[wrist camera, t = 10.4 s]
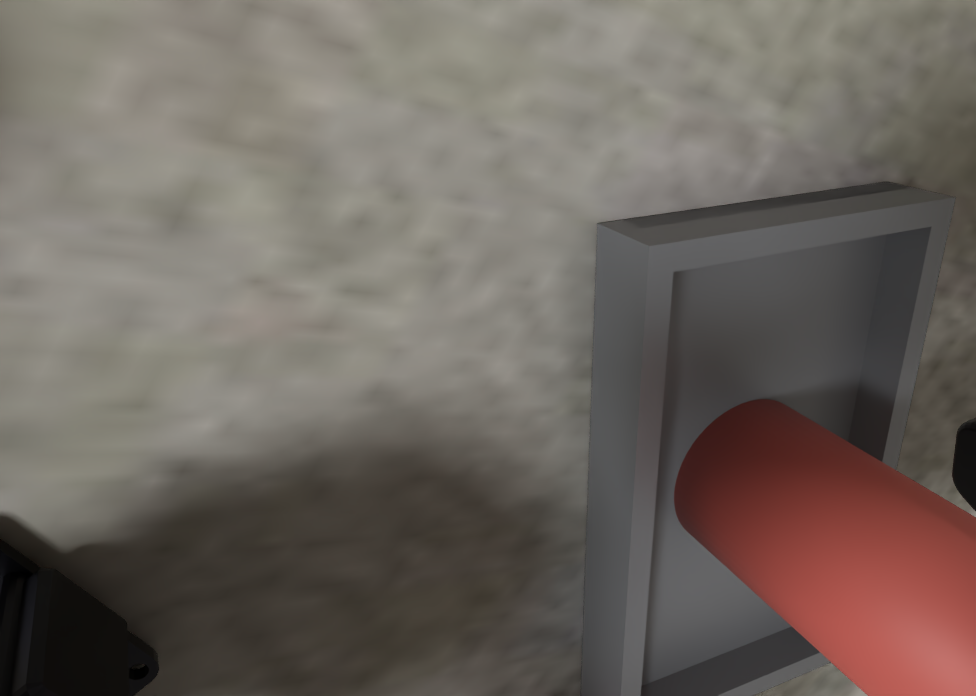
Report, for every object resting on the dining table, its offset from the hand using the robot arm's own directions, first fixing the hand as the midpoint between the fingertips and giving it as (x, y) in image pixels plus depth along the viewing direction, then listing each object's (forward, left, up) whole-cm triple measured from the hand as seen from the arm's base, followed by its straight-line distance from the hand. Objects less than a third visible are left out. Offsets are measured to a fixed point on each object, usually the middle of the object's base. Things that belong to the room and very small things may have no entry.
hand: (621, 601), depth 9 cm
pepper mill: (+7, -14, -12) cm, 19 cm away
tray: (+7, -14, -13) cm, 20 cm away
